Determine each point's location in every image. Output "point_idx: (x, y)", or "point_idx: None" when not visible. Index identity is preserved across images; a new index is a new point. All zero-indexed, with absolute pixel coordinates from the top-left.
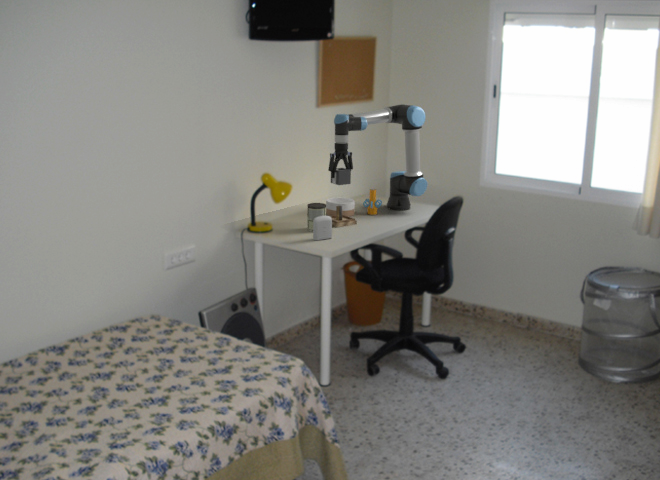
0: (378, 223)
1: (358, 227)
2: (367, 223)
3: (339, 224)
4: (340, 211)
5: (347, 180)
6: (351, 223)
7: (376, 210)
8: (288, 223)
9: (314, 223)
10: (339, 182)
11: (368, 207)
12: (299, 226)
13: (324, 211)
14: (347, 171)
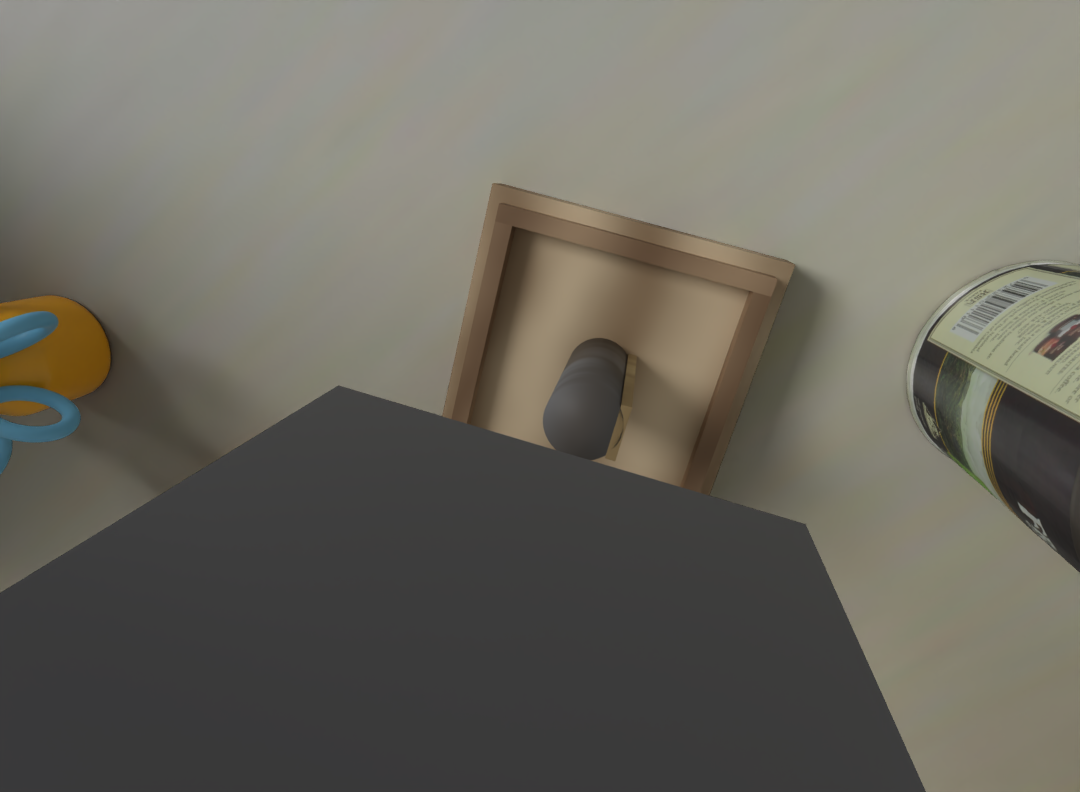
0: (290, 7)
1: (606, 60)
2: (385, 110)
3: (749, 251)
4: (611, 371)
5: (413, 474)
6: (573, 203)
7: (12, 301)
8: (962, 734)
9: None
10: (802, 568)
11: (49, 382)
12: (1006, 592)
13: None
14: (172, 789)
